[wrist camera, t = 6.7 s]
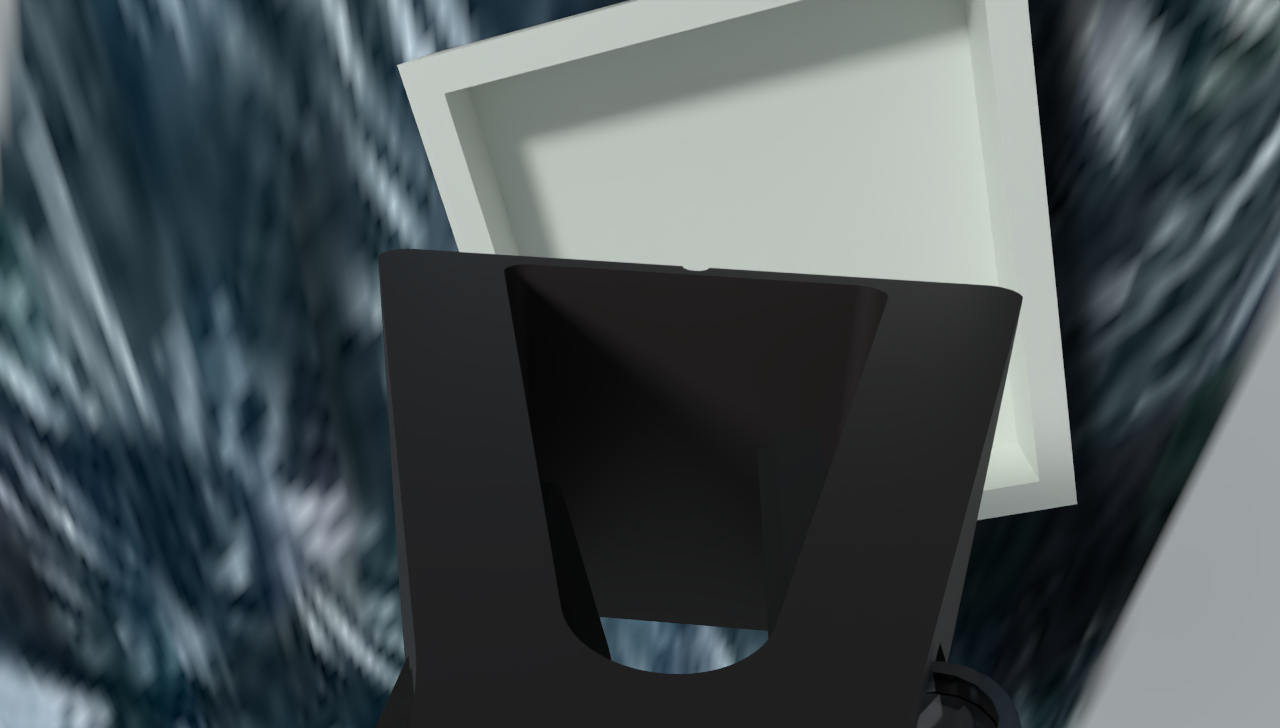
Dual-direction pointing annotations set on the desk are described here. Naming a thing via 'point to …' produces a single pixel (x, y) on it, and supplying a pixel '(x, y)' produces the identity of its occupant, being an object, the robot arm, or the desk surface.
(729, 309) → the phone stand
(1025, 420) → the tray
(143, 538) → the desk surface
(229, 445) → the desk surface
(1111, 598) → the desk surface
